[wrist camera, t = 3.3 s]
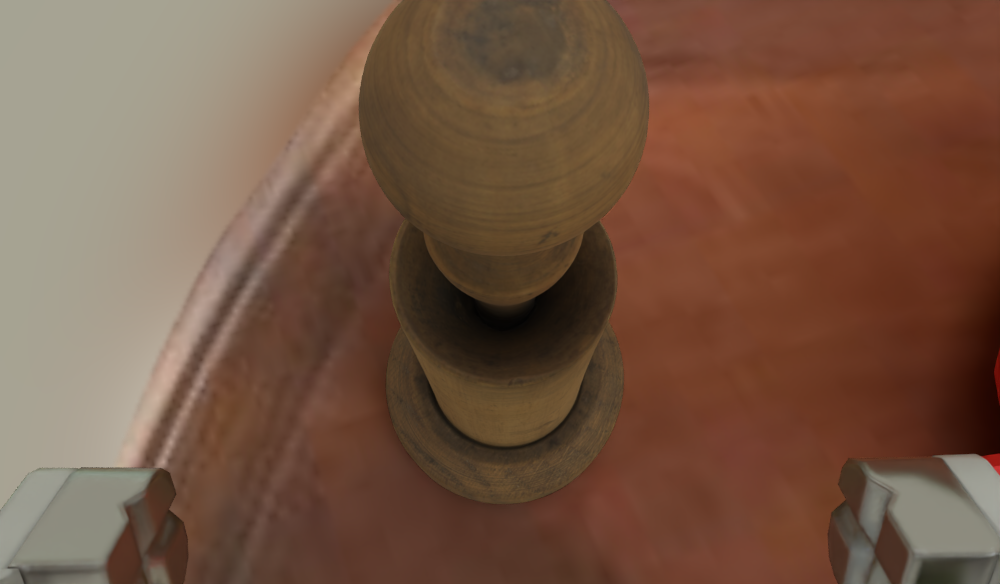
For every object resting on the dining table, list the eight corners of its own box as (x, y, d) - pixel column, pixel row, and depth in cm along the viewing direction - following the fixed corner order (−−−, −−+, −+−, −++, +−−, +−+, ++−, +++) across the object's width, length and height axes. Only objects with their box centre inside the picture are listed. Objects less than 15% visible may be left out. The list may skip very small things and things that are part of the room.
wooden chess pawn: (468, 247, 26) (397, -336, 9) (653, 349, 25) (984, -81, 8) (352, 432, 24) (-16, 163, 7) (545, 549, 23) (661, 564, 6)
